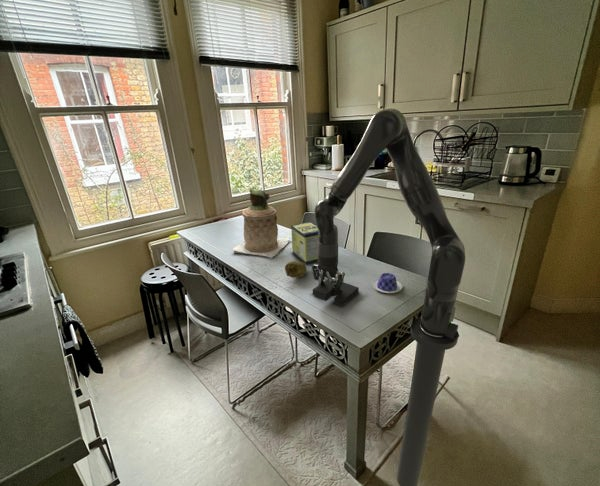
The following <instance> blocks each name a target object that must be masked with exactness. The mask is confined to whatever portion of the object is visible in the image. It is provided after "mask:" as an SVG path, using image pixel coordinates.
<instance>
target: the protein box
mask: <svg viewBox="0 0 600 486" xmlns="http://www.w3.org/2000/svg"><path fill="white" fill-rule="evenodd" d="M290 227H291V245H292V246H291V249H292V254H293V255H294V256H295V257H296V258H298V259H299V260H300V262H303V263H305V265H309V264H312V263H318V228H317V225H315V224H313V223H312V222H310V221H307V222H302V223H296V224H291V225H290Z"/></svg>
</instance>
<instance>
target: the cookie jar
mask: <svg viewBox="0 0 600 486" xmlns="http://www.w3.org/2000/svg"><path fill="white" fill-rule="evenodd" d="M248 191H249V201H250V202H251V204H250V205H249V206H248V207H247V208H245V209H243V210H242V212H241V214H242V217H243V239H244V240H243V242H241V243H239V244H238V245H236V246H234V247H233V248H232V250H231V251H233V254H235V255H236V253H237V254H244V255H253V256H261V257H266V258H271V259H272V258H273V257H274V256H277V255H278V254H279V252H281V250H282V249H283V248H285V247H286V246H287V244H289V242H290V238H289V237H281V236H279V228H278V227H279V226H278V224H277V219H278V217H277V216H278V215H277V210H276V209H275V208H274V207H273V206H271V205H270V204H268V202H267V201H268V200H270V194H269V193H268V192H266V191H265V190H262V189H249V190H248Z"/></svg>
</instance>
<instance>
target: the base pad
mask: <svg viewBox="0 0 600 486" xmlns="http://www.w3.org/2000/svg"><path fill="white" fill-rule="evenodd" d="M332 279H333V278H332ZM323 281H324V284H325V283H326V282H328V281H329V279H328V278H327V279H325V280H323ZM317 288H319V284H318V285H316V286H315V287H313V288H312V295H313V296H315V290H316V289H317ZM359 288H360V287H359V286H356V285H353V284H351V283H347V282H344V281H343V283H342V285H341V286H340V291H338V292H337V294H336V295H335V296H334V297H333V298H334V299H333V302H334V304H336V305H338V306H340V307H343V306H344V305H346V304H347V303H348V302H349V301H351V300H352V299H353V298H355V296H357V295H358V294H359V291H360V289H359Z"/></svg>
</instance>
